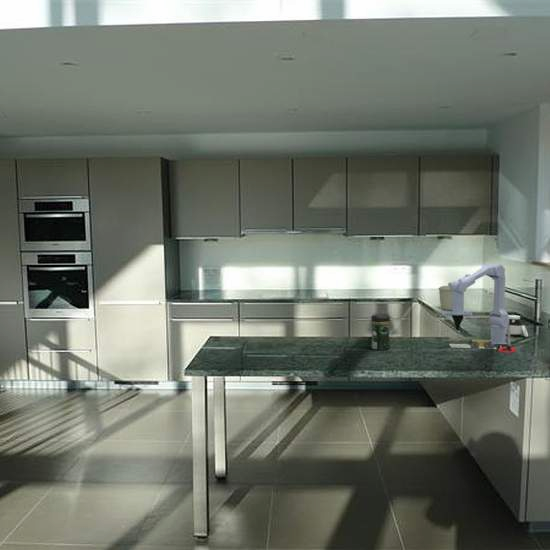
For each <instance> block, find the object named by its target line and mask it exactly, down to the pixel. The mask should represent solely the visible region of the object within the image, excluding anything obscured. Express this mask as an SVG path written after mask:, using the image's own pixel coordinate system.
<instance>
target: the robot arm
mask: <svg viewBox="0 0 550 550" xmlns="http://www.w3.org/2000/svg"><path fill="white" fill-rule="evenodd" d="M505 272H506V269H505V267H504V266H503V265H502V264H495V263H493V264H491V263H486V264H484V265H481V268H479V269H478V270H476V271H475V272H473V273H472V274H470V273H469V274H465V275H464V276H463V277H461V278H458V280H455V281H452V284H451V286H450V289H451V291H452V311H442V315H443V317H452V320H453V323H454V325H455V330H456V331H460V326H461V323H462V322H463V320H464V317H473V312H470V311H464V307H465V306H464V305H465V304H464V302H465V299H464V298H465V292H466V291H467V289H468V288H470V287H471V286H473V285H474V284H476V281H477V280H478V279H481V278H482V277H484V276H487V277H489V278H490V279H492V280H493V281H494V283H493V284H494V285H493V309H492V310H491V311H490V312H489V317H488V323H489V325H490V327H491V328H490V339H488V340H489V341H492V343H495V344H496V345H507V341H506V336H507V335H506V328H507V326H508V325H509V318H508V315H509V313H508V312H507V311H506V310H505V299H506V298H505V297H506V295H505V294H506V273H505Z"/></svg>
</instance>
